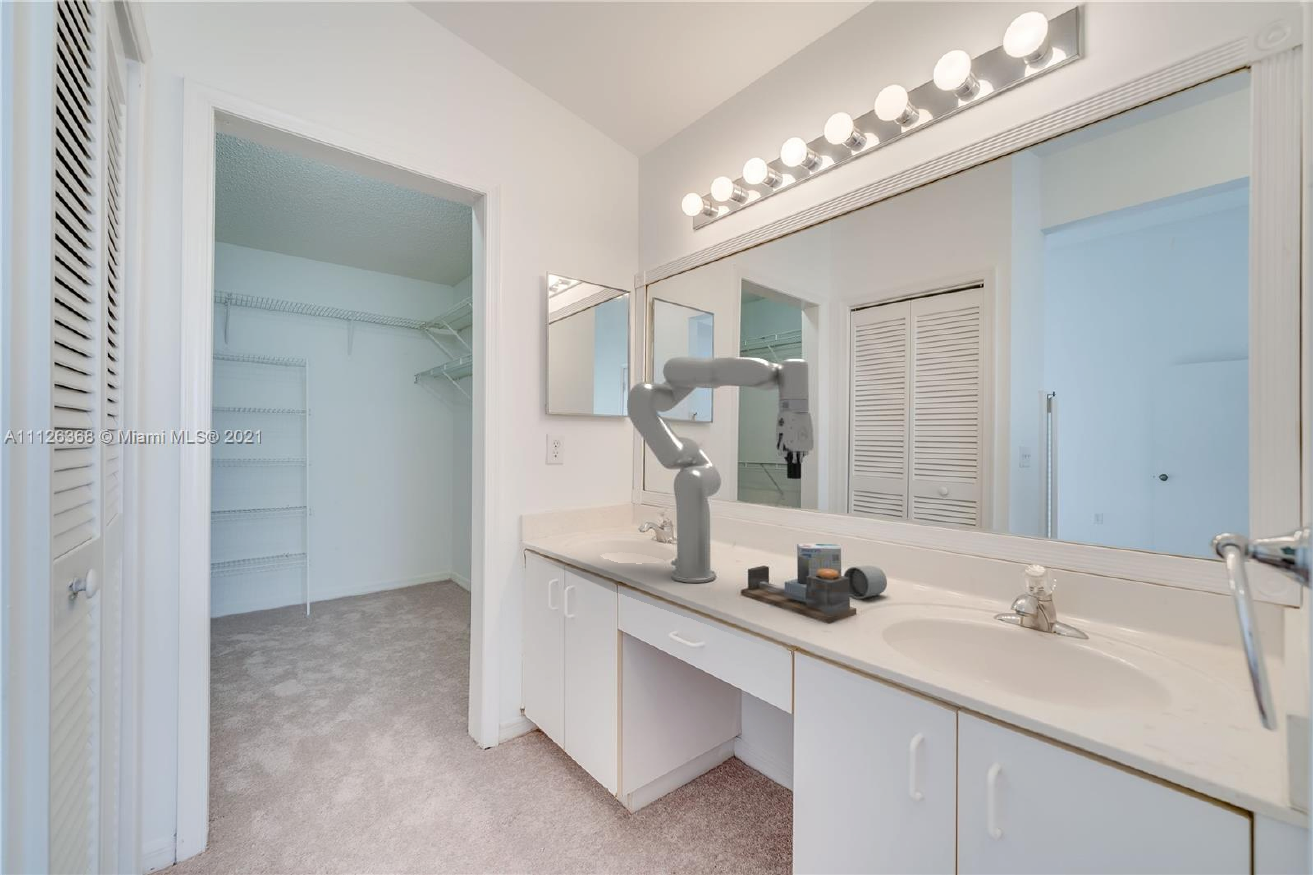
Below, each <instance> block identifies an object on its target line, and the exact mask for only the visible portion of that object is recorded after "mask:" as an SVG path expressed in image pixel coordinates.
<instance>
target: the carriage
mask: <svg viewBox="0 0 1313 875" xmlns="http://www.w3.org/2000/svg"><path fill="white" fill-rule="evenodd" d="M796 556H797V555H796ZM796 561H797V564H796V566H797V570H796V572H797V576H796V577H797V578H795V579H792V580H791V579H790V580H786V581H784V588H785V592H786V593H787V597H790V598H793V599H797V600H800V601H803V602H807V590H806V576H809V557H808V556H797V560H796Z"/></svg>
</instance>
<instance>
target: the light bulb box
mask: <svg viewBox="0 0 1313 875" xmlns="http://www.w3.org/2000/svg"><path fill="white" fill-rule="evenodd" d="M796 551H797V553H796V556H808V557H809V576H810V575H814V574H818V570H819V569H833V570H837V571H838V575H840V576H842V547H840V546H839V545H838V544H836V543H834V542H833V543H832V542H831V543H825V542H824V543H821V542H820V543H817V542H815V543H813V542H811V543H810V542H809V543H807V542H806V543H805V542H804V543H803V542H802V543H801V542H797V543H796Z"/></svg>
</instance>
